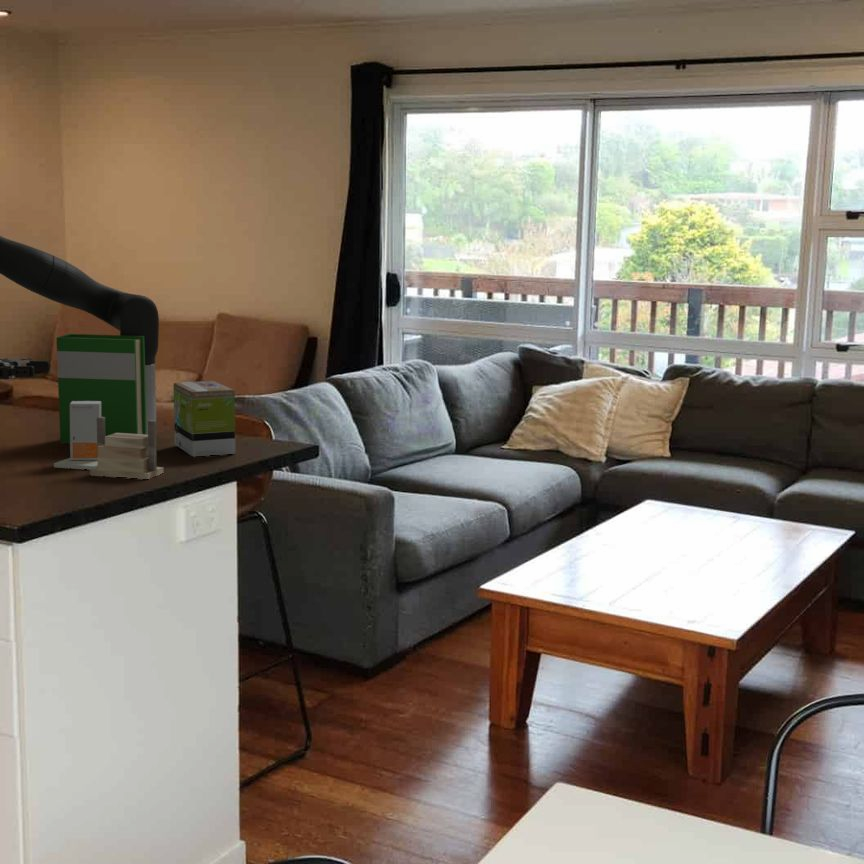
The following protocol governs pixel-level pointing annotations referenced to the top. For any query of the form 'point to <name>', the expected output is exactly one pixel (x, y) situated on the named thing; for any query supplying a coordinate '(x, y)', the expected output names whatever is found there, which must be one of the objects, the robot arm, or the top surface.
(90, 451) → the skincare box
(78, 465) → the sage mat
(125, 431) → the hardback book
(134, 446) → the offcut rack
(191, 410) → the tea box
